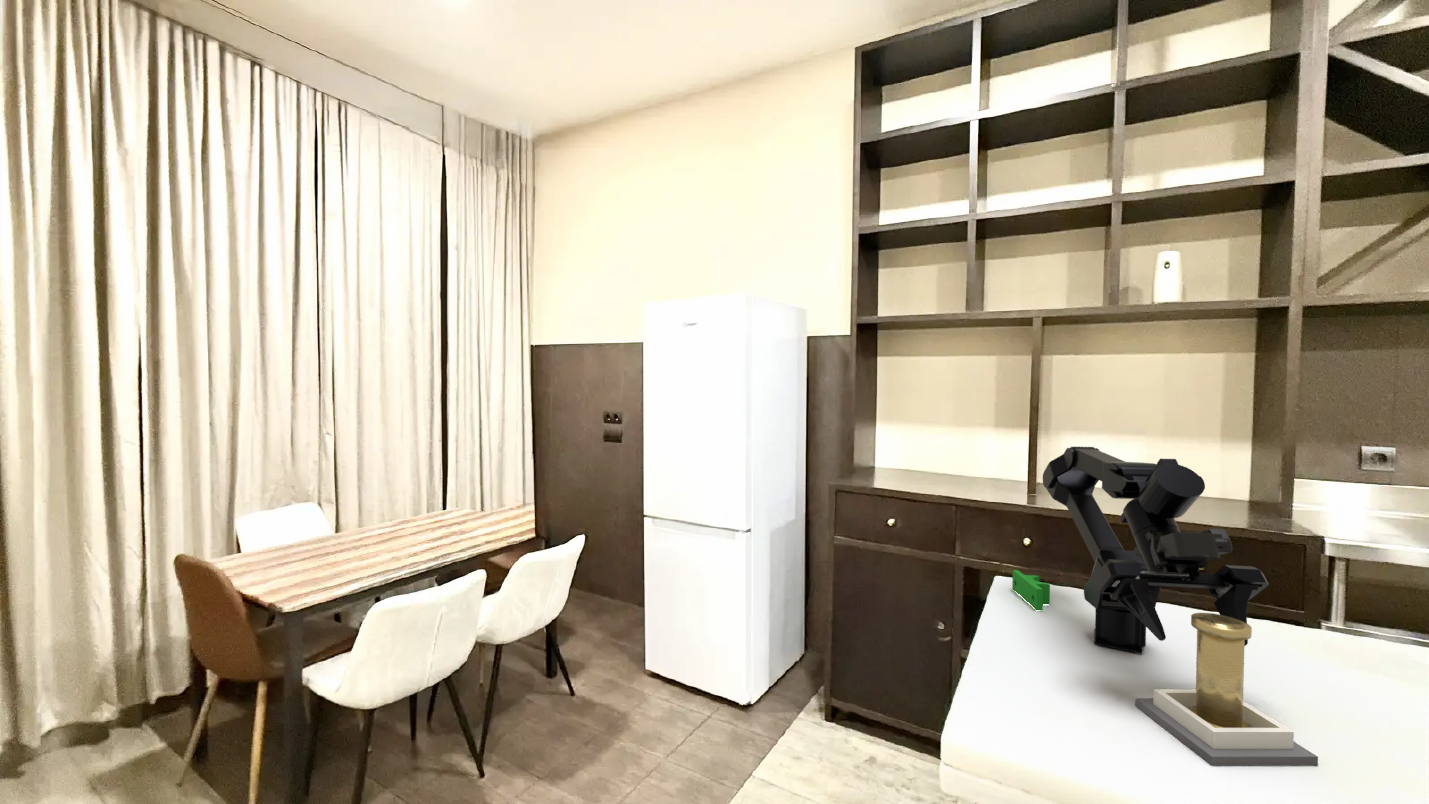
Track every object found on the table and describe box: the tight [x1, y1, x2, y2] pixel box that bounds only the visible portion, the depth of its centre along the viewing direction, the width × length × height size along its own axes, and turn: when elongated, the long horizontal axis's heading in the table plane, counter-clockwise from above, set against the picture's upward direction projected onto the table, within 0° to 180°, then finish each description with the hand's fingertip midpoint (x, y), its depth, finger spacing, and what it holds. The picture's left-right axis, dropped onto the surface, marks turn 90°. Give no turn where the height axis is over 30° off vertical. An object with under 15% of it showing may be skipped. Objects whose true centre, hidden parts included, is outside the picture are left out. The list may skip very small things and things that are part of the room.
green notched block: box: [1011, 569, 1051, 610], centre depth 114 cm, size 11×4×5 cm, turn 174°
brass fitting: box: [1189, 612, 1252, 728], centre depth 71 cm, size 6×6×13 cm
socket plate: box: [1134, 688, 1319, 766], centre depth 71 cm, size 12×12×3 cm
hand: (1203, 642), depth 74 cm, fingers open, 9 cm apart
